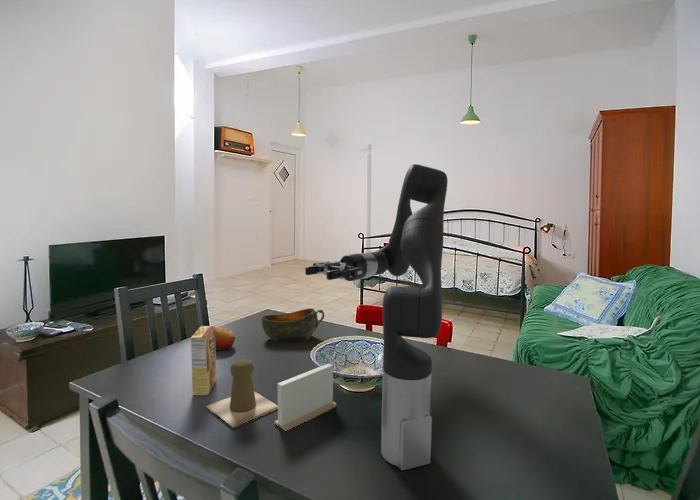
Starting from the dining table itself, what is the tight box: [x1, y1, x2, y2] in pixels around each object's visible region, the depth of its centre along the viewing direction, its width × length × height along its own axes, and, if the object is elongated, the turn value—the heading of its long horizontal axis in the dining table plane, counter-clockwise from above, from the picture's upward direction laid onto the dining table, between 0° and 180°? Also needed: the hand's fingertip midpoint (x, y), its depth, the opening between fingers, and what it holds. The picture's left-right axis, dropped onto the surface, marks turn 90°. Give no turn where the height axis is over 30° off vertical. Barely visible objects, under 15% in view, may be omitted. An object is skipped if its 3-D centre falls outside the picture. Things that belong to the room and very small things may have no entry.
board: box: [206, 391, 278, 428], centre depth 95 cm, size 12×12×1 cm
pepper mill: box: [230, 358, 256, 413], centre depth 94 cm, size 6×6×11 cm
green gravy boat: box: [261, 307, 325, 343], centre depth 142 cm, size 13×20×10 cm, turn 74°
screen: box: [274, 363, 337, 432], centre depth 92 cm, size 15×4×10 cm, turn 136°
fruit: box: [215, 327, 236, 351], centre depth 132 cm, size 8×8×8 cm
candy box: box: [190, 325, 217, 396], centre depth 104 cm, size 9×4×15 cm, turn 6°
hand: (316, 273), depth 105 cm, fingers open, 8 cm apart
